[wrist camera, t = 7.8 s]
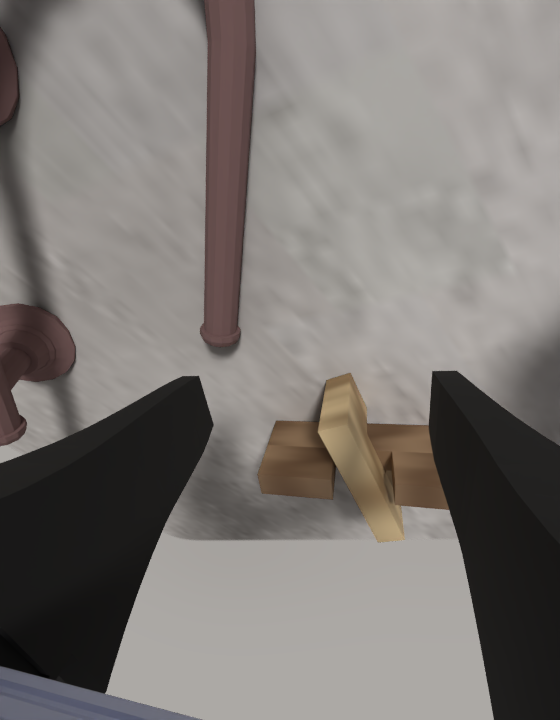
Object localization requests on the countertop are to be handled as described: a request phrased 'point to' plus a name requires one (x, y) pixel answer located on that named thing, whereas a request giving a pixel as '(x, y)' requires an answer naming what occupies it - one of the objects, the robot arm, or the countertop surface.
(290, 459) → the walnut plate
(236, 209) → the toilet paper hanger
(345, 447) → the light wooden block
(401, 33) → the countertop surface
